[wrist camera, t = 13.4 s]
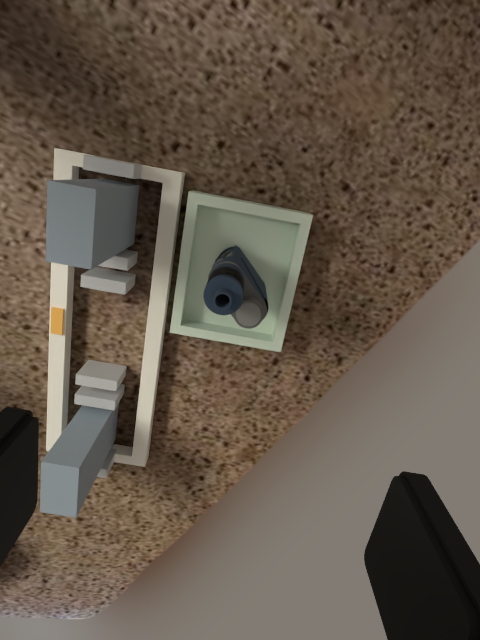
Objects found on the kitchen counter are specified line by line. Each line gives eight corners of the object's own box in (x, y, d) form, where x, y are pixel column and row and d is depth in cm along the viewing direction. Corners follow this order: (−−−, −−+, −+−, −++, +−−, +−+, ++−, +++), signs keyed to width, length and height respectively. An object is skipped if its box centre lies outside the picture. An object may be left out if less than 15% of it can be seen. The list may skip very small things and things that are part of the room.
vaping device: (235, 237, 33) (228, 269, 22) (270, 288, 35) (281, 343, 24) (209, 255, 34) (190, 295, 23) (245, 305, 35) (244, 366, 24)
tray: (192, 190, 33) (188, 191, 31) (308, 212, 33) (313, 215, 31) (174, 322, 37) (169, 332, 35) (278, 340, 37) (280, 352, 35)
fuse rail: (62, 149, 32) (-15, 138, 23) (185, 172, 33) (159, 172, 23) (52, 442, 42) (-5, 520, 32) (148, 457, 42) (119, 539, 32)
